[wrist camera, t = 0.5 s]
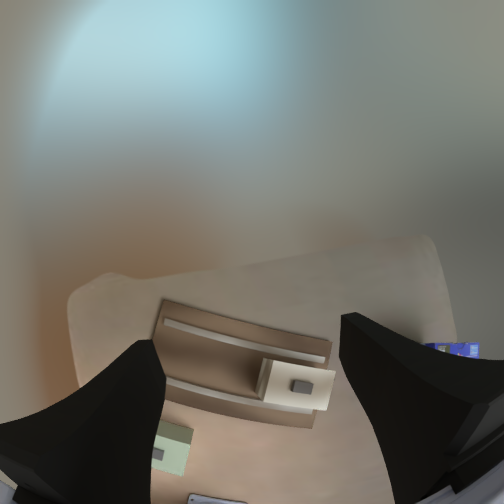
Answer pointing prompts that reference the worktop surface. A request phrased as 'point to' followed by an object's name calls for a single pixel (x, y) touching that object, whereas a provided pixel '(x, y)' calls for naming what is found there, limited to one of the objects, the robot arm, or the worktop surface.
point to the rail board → (242, 367)
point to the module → (171, 448)
